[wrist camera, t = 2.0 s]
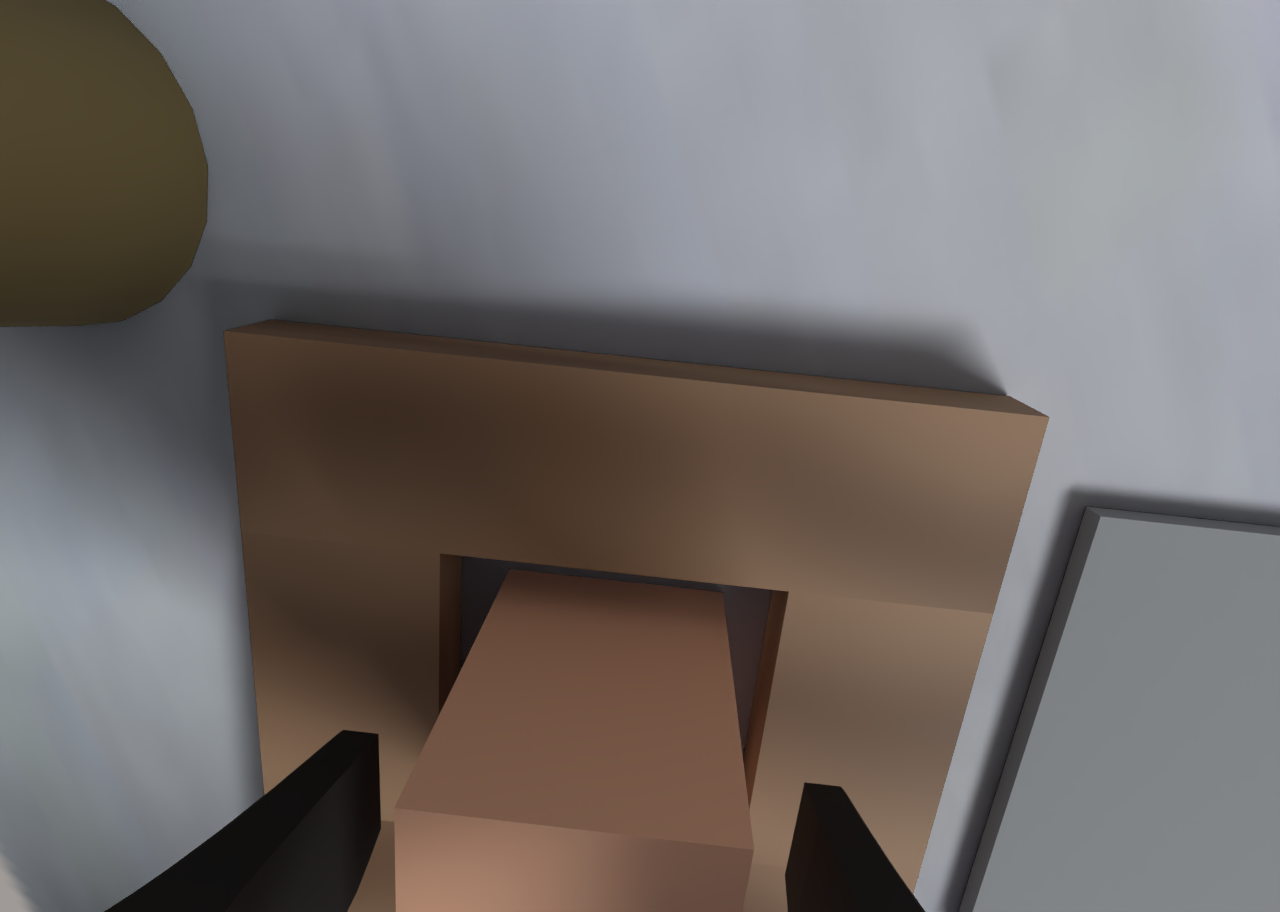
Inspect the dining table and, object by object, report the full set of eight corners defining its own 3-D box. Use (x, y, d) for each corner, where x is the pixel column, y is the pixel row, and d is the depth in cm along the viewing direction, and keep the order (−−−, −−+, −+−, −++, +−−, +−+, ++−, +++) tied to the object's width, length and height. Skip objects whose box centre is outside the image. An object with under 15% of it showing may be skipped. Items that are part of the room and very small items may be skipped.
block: (697, 764, 16) (708, 1092, 10) (502, 743, 17) (398, 1055, 10) (722, 591, 15) (754, 850, 9) (509, 568, 15) (393, 808, 9)
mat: (1412, 977, 17) (1433, 998, 17) (954, 923, 17) (962, 942, 17) (1661, 567, 14) (1696, 580, 13) (1086, 506, 14) (1100, 516, 13)
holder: (864, 943, 18) (880, 1006, 16) (308, 878, 18) (276, 934, 17) (1009, 396, 13) (1049, 417, 12) (270, 319, 14) (223, 330, 12)
